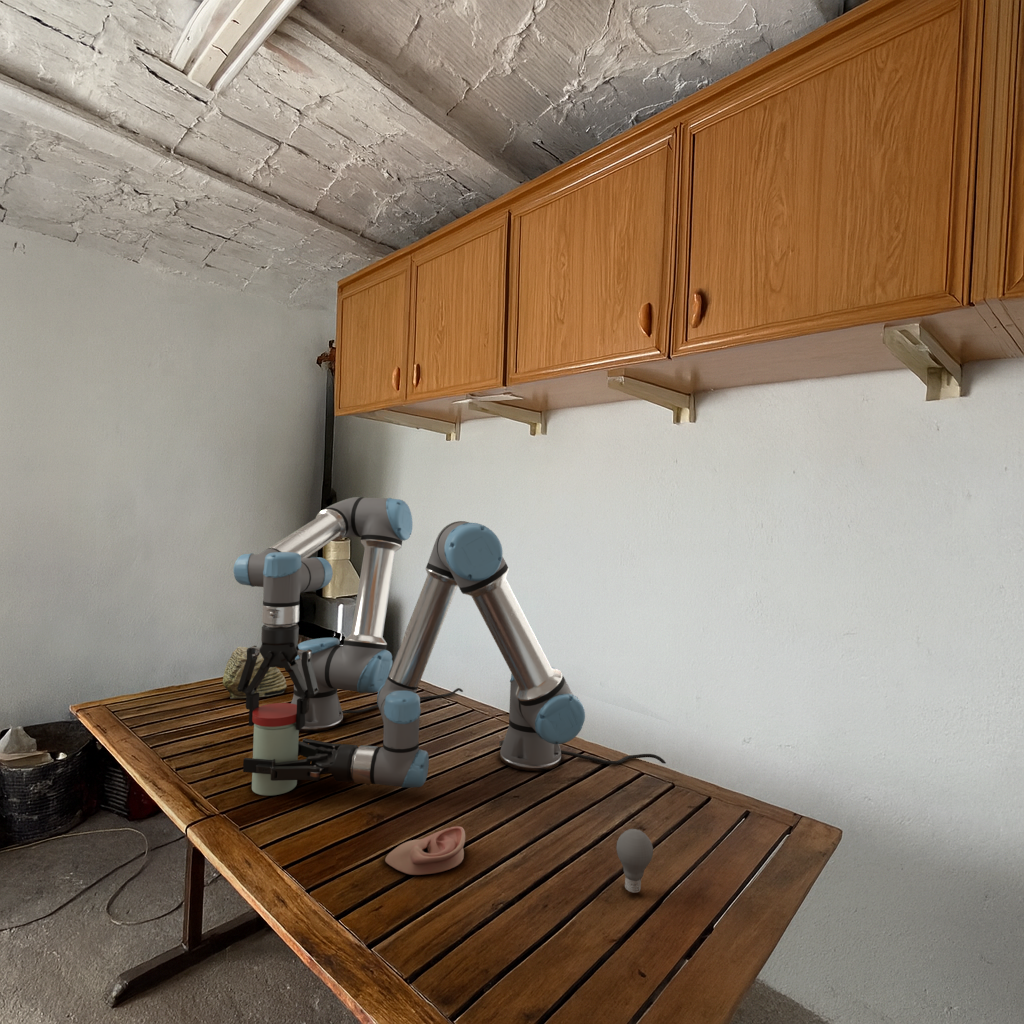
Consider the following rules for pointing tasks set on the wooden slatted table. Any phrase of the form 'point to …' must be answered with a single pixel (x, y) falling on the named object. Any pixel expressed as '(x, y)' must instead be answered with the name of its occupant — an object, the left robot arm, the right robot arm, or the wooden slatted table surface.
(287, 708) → the lid
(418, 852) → the anatomical model
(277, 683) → the fossil
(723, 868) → the wooden slatted table surface
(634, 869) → the light bulb
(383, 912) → the wooden slatted table surface
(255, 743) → the jar
